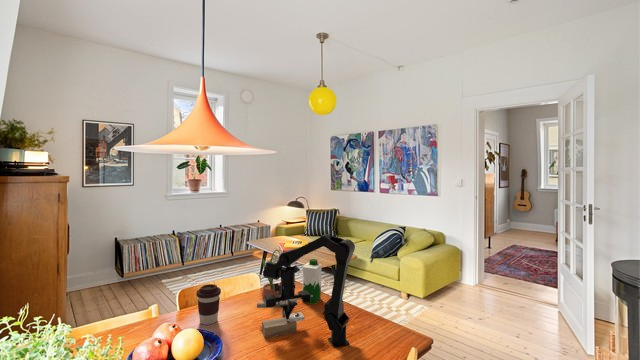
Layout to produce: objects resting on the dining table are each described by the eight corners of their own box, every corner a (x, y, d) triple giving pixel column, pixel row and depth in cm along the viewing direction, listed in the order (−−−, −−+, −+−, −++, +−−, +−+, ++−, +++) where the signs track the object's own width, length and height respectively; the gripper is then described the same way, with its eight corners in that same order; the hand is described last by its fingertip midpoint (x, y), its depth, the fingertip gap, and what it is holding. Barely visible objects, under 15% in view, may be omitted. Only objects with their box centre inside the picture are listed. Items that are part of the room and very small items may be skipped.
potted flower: (277, 291, 175) (278, 245, 174) (288, 297, 167) (288, 248, 166) (258, 296, 167) (258, 248, 166) (268, 303, 159) (268, 252, 158)
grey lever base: (296, 332, 131) (297, 317, 131) (264, 338, 127) (264, 322, 127) (288, 319, 143) (289, 305, 143) (258, 323, 138) (258, 309, 138)
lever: (289, 304, 143) (289, 301, 143) (289, 308, 139) (289, 304, 139) (257, 305, 142) (257, 301, 142) (256, 308, 138) (256, 305, 138)
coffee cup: (195, 328, 134) (195, 292, 133) (197, 317, 143) (197, 283, 143) (220, 325, 137) (220, 290, 136) (220, 314, 146) (221, 281, 145)
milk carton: (322, 298, 166) (323, 259, 165) (316, 305, 157) (316, 264, 156) (306, 296, 169) (307, 258, 168) (299, 302, 160) (300, 262, 159)
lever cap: (304, 320, 134) (304, 315, 133) (290, 322, 131) (290, 317, 131) (301, 315, 138) (301, 311, 138) (287, 317, 135) (287, 313, 135)
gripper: (303, 273, 143) (302, 307, 144) (261, 277, 137) (260, 313, 137) (311, 281, 133) (311, 319, 134) (266, 286, 126) (266, 326, 127)
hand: (287, 319), depth 133 cm, fingers closed
